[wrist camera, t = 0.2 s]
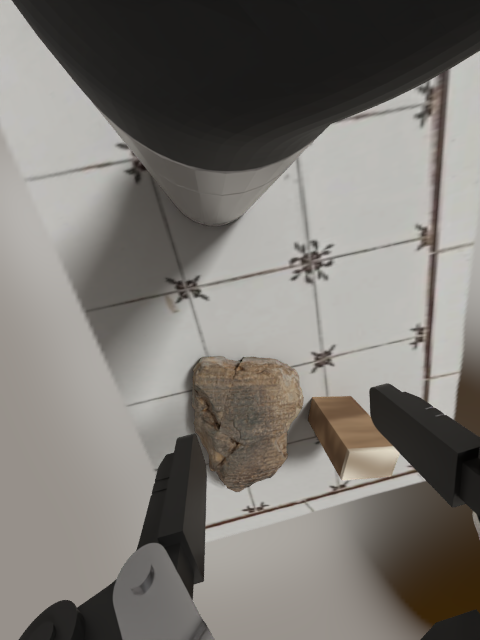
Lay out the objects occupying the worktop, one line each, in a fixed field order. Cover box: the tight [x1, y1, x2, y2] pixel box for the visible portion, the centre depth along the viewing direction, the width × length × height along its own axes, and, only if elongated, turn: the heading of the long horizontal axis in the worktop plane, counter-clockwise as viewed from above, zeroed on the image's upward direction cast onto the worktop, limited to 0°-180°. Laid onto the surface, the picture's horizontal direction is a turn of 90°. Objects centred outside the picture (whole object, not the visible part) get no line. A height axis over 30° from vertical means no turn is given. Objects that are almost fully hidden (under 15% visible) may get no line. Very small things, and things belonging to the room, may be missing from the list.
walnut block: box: [308, 396, 400, 481], centre depth 28 cm, size 4×6×9 cm, turn 86°
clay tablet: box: [192, 356, 304, 492], centre depth 29 cm, size 14×5×20 cm
